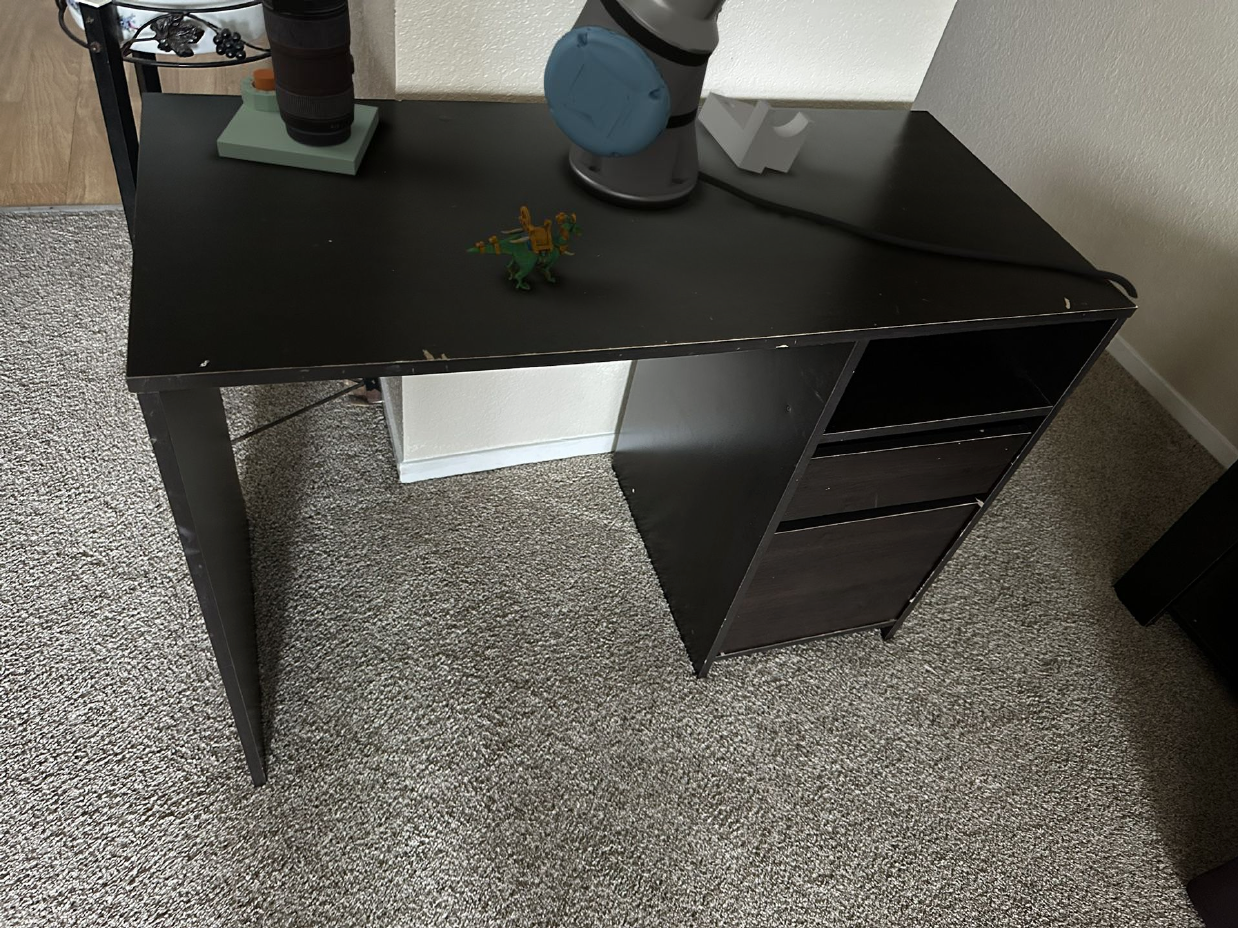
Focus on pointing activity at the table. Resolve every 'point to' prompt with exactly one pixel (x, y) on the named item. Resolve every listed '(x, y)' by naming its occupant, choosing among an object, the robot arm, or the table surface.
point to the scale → (267, 140)
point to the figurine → (532, 245)
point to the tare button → (264, 79)
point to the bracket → (754, 133)
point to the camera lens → (313, 71)
